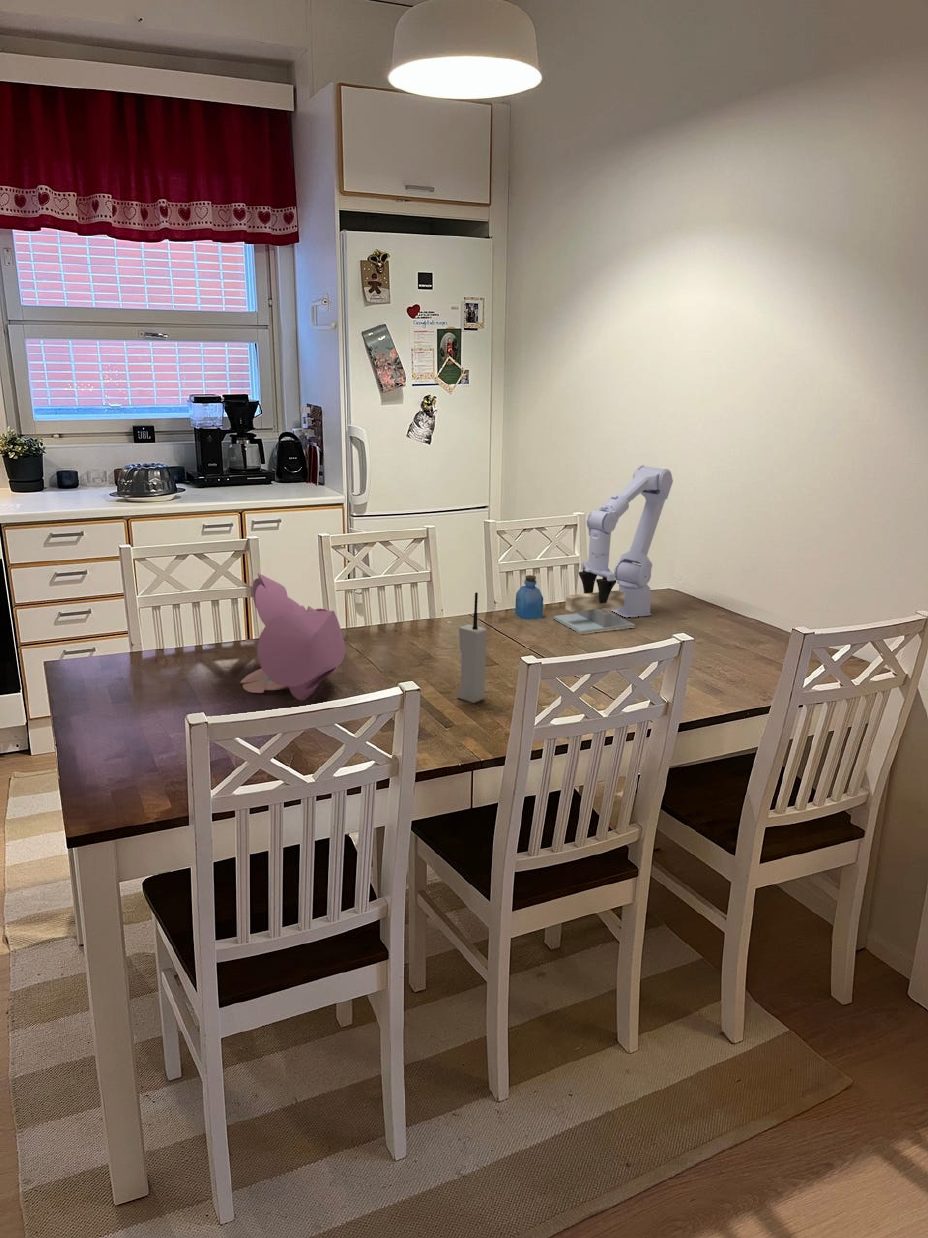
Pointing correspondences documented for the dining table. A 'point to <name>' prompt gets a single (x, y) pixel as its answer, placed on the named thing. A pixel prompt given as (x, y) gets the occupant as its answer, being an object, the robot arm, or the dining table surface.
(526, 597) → the perfume bottle
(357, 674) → the dining table surface
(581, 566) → the robot arm
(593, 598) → the ash batten
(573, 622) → the stand
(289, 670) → the purple toy bird
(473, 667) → the vintage mobile phone
